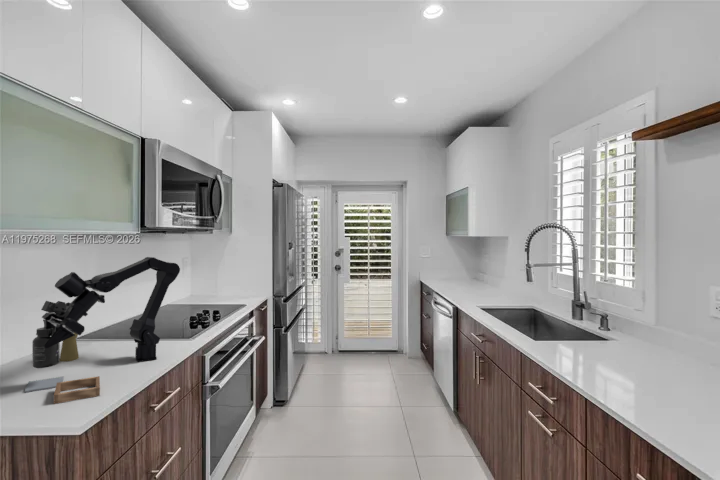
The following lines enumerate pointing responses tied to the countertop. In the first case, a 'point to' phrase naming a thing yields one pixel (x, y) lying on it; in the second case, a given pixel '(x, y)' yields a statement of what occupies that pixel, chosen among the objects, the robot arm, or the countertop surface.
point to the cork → (69, 349)
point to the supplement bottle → (45, 349)
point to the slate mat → (43, 384)
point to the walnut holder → (78, 393)
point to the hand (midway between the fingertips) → (40, 345)
